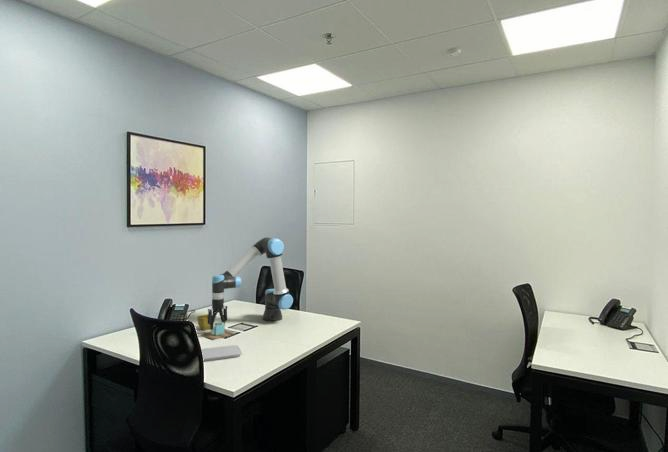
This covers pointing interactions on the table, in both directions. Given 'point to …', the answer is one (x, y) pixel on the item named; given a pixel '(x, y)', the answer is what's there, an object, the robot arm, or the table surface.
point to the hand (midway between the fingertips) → (217, 332)
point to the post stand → (214, 337)
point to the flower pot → (203, 322)
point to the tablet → (221, 352)
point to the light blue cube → (219, 329)
